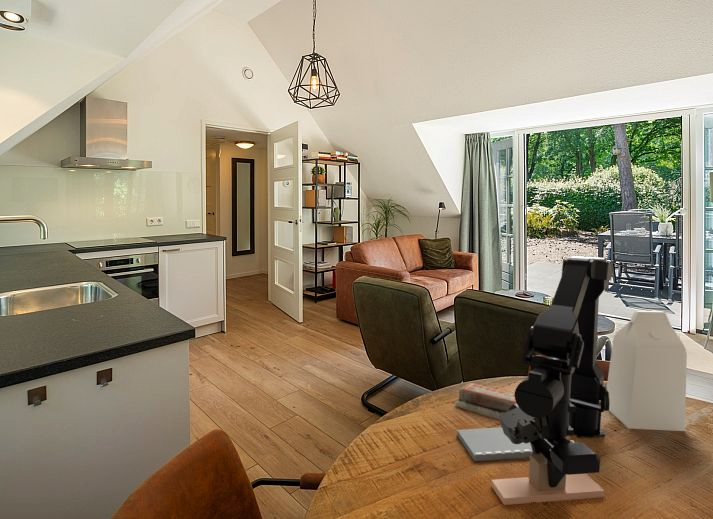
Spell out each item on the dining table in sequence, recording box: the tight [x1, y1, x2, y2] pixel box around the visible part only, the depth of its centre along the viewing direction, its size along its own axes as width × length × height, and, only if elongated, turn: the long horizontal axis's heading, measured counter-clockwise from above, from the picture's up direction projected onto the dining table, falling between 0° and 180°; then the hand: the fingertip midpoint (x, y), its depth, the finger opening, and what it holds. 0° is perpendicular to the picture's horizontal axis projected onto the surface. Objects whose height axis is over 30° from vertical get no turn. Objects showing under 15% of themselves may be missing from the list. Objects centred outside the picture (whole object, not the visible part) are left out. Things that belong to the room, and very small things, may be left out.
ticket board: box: [456, 426, 533, 462], centre depth 89 cm, size 18×10×1 cm, turn 96°
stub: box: [490, 454, 605, 506], centre depth 74 cm, size 18×5×6 cm, turn 96°
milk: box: [606, 310, 688, 432], centre depth 100 cm, size 12×12×26 cm
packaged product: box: [454, 382, 517, 420], centre depth 106 cm, size 18×5×10 cm
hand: (547, 480), depth 74 cm, fingers closed on stub, 3 cm apart
